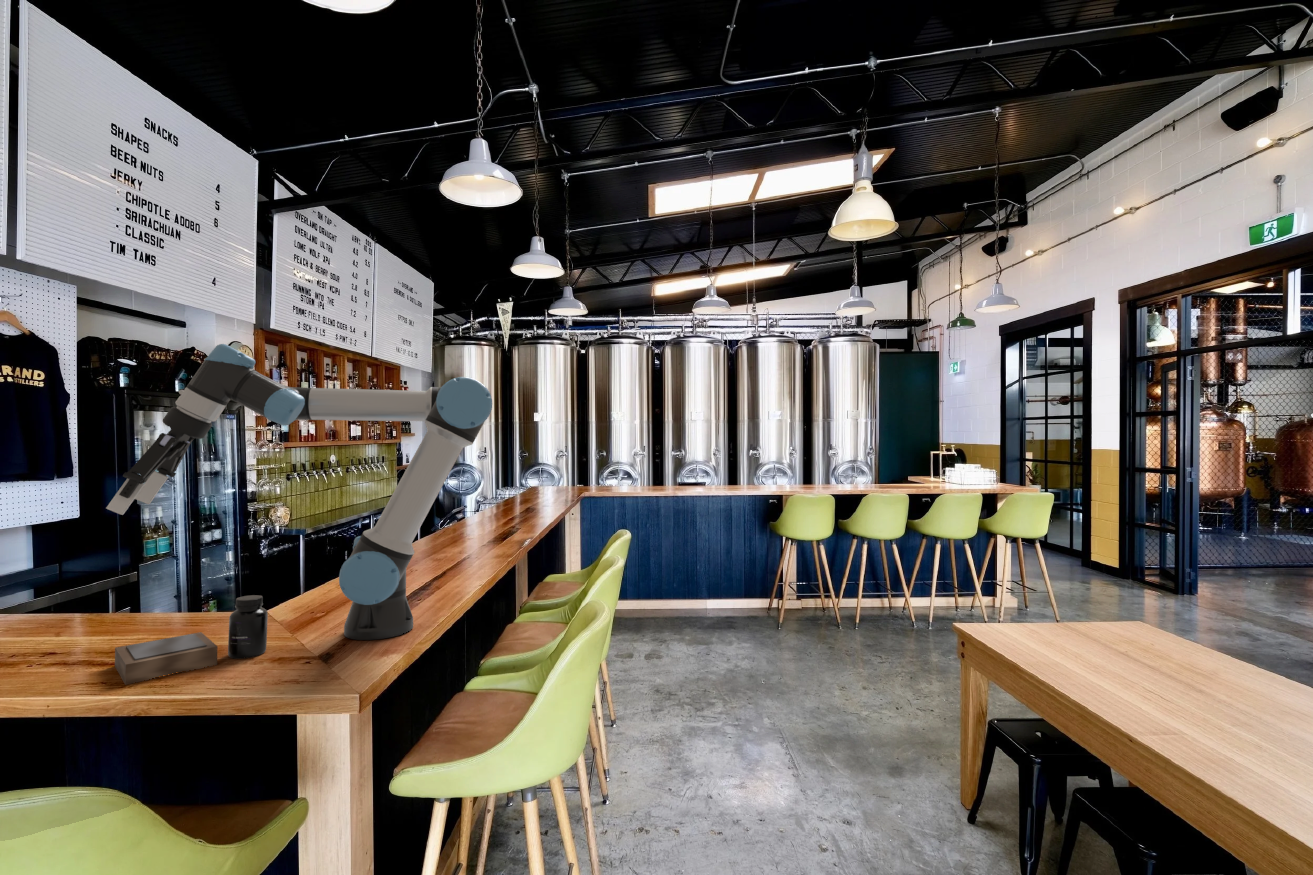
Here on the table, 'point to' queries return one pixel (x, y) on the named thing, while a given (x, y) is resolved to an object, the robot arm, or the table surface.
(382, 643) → the table surface
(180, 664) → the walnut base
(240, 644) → the supplement bottle
